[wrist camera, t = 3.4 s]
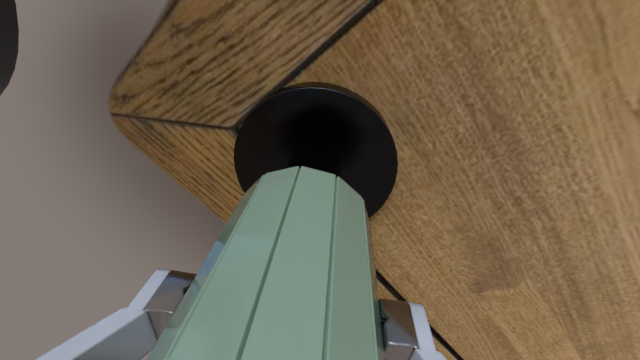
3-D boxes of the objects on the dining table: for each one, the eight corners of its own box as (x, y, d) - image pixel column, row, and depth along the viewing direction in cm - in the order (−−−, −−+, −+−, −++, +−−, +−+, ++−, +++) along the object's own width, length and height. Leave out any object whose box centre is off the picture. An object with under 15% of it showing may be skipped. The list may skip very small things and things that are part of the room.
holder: (212, 159, 21) (-60, 447, 7) (311, 40, 16) (98, 182, 2) (319, 242, 24) (281, 548, 10) (427, 163, 19) (630, 526, 5)
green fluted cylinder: (217, 220, 14) (38, 498, 6) (298, 139, 12) (177, 438, 3) (308, 284, 16) (267, 562, 8) (395, 227, 13) (472, 556, 5)
